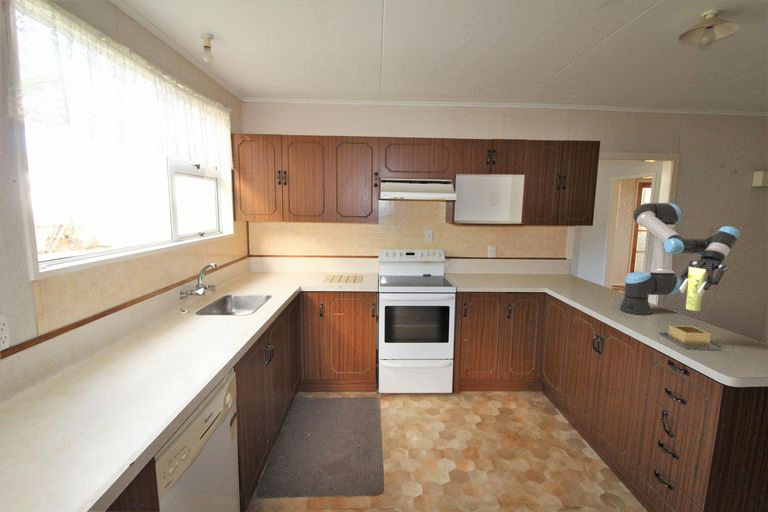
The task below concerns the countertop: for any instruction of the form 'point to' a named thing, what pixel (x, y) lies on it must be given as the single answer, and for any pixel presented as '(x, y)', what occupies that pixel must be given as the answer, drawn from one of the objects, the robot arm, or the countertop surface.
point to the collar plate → (690, 338)
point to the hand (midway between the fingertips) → (690, 292)
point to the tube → (694, 288)
